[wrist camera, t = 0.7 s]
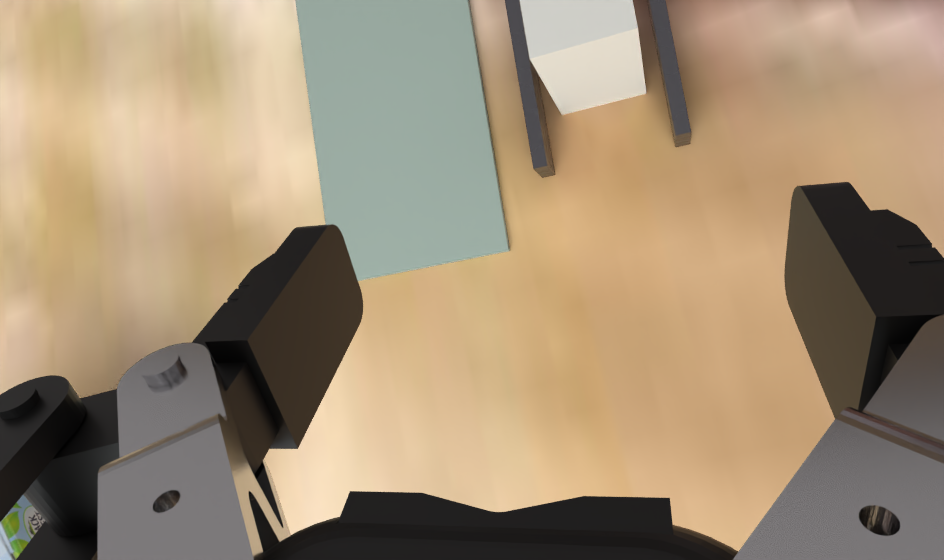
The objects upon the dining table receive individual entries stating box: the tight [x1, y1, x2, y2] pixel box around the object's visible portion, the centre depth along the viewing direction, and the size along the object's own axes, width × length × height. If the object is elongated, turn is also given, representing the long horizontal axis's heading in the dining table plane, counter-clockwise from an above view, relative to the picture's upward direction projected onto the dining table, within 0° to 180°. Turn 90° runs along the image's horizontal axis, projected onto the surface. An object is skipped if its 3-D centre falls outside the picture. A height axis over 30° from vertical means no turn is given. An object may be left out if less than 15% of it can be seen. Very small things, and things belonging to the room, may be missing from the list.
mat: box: [295, 0, 510, 281], centre depth 42 cm, size 12×20×1 cm, turn 10°
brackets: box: [505, 0, 691, 178], centre depth 37 cm, size 9×12×2 cm
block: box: [520, 0, 646, 115], centre depth 34 cm, size 5×5×9 cm
